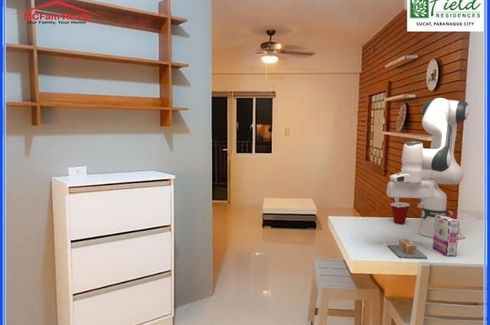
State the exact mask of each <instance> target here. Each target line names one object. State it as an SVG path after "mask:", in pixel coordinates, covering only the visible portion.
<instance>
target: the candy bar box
mask: <svg viewBox="0 0 490 325" xmlns="http://www.w3.org/2000/svg"><path fill="white" fill-rule="evenodd" d="M459 226H460V221H459V220H458V219H456V218H452V217H450V216H449V217H447V216H445V215H435V226H434V238H433V242H432V249H433V250H434V251H436V252H438V253H440V254H442V255H443V256H446V257H457V248H458V240H459V239H458V228H459Z"/></svg>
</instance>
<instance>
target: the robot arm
mask: <svg viewBox="0 0 490 325" xmlns="http://www.w3.org/2000/svg"><path fill="white" fill-rule="evenodd" d="M421 115H422V119H421V126H422V129H424V131H426V133H428V134H430V135H431V136H432V138H431V142H430V148H424V145H423V142H422V141H419V140H418V141H417V140H411V141H406V142H404V145H403V147H402V152H401V153H402V155H401V164H402V165H401V169H400V172H398V173H394V174H392V175H390V176H389V180H390V181H388V183H387V186H386V195H387V197H388V198H394V202H395V203H397V207H398V208H401V204H400V203H399V202H400V199H420V202H419V203H417V208H418V209H421V221H420V225H419V228H418V231H417V232H418V234H419V235H422V236H425V237H429V238H433V239H434V226H435V215H445V216H447V217H450V216H453V215H454V211H451V210H448V209H447V200H448V197H447V194H446V193H445V191H443V190H442V189H441V188H440V187H439V184H441V185H446V186H447V185H458V184H460V183H461V182H462V181H463V179H464V175H465V172H464V170H463V168H462V166H460V165H459V164H458V163H457V161H456V159H455V153H454V152H455V143H456V138H457V128H458V125H460V124H461V123H464V122H465V121H466V120H467V118H468V116H469V115H470V105H469V103H468V101H467V102H466V101H463V100H454V99H446V98H443V97H437V98H434V99H432V100H427V101H425V102H424V103H423V105H422V107H421ZM459 239H460V240H462V239H464V240H465V239H466V236H465V234H464V233H462V232H461V226H460V225H459V228H458V240H459Z"/></svg>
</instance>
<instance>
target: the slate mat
mask: <svg viewBox="0 0 490 325" xmlns="http://www.w3.org/2000/svg"><path fill="white" fill-rule="evenodd" d="M386 247H388V249H390V250H391V252H393V253H394V254H395V255H396V257H398V258H399V259H413V260H414V259H416V260H417V259H418V260H419V259H420V260H428V257H427V256H426V255H425V254H424V253H423V252H421V251H420V250H419V249H418V248H416V255H407V254H406V253H404V252H403V251H402V250H401V249H400V248H399V244H387V246H386Z"/></svg>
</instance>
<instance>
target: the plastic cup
mask: <svg viewBox="0 0 490 325" xmlns="http://www.w3.org/2000/svg"><path fill="white" fill-rule="evenodd" d="M398 202H399V203H400V204H401V208H398V207H397V203H396V202H392V203H390V206H391V209H392V210H391V211H392V217H393V223H394V224H395V225H405V224H406V219H407V216H408V212H409V208H410V205H411V204H410V203H408V202H403V201H402V202H400V201H398Z"/></svg>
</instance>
